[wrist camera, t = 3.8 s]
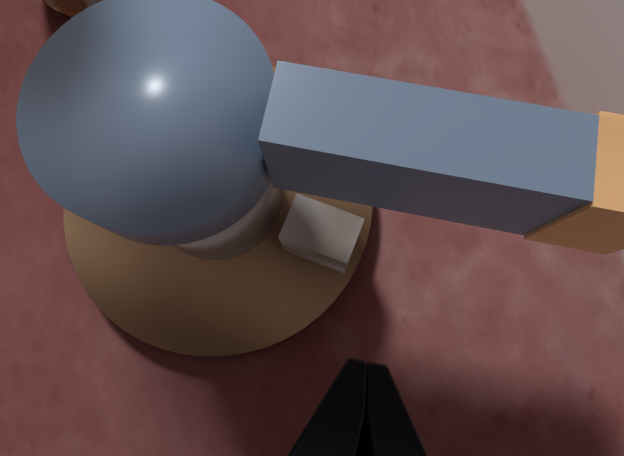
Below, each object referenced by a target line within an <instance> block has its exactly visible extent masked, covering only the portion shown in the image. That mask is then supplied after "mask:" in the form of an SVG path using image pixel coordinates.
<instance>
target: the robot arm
mask: <svg viewBox="0 0 624 456" xmlns="http://www.w3.org/2000/svg"><path fill="white" fill-rule="evenodd" d="M288 456H427V454H426V451H425V449H424V447H423V445H422V442H421V440H420V438H419V436H418V433H417V431H416V429H415V427H414V424H413V422H412V420H411V418H410V415H409V413H408V411H407V409H406V406H405V404H404V402H403V400H402V398H401V395H400V393H399V391H398V389H397V386H396V384H395V382H394V380H393V377H392V375H391V373H390V371H389V369H388V367H387V366H386V365H384V364H380V363H375V362H368V363H367V362H366V361H365V360H361V359H356V358H348V359H347V360H346V362H345V364H344V365H343V367H342V368H341V370H340V372H339V373H338V375H337V377H336V378H335V380H334V381H333V383H332V385H331V386H330V388H329V389H328V391H327V393H326V394H325V396H324V398H323V399H322V401H321V402H320V404H319V406H318V407H317V409H316V411H315V412H314V414H313V415H312V417H311V419H310V420H309V422H308V424H307V425H306V427H305V428H304V430H303V432H302V433H301V435H300V436H299V438H298V440H297V441H296V443H295V445H294V446H293V448H292V449H291V451H290V453H289V454H288Z"/></svg>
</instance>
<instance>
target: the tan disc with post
mask: <svg viewBox="0 0 624 456" xmlns="http://www.w3.org/2000/svg"><path fill="white" fill-rule="evenodd" d="M272 68H273V72H274V74H275V69H276V66H273V65H272ZM372 211H373V206H368V205H362V204H357V203H352V202H347V201H341V200H336V199H331V198H325V197H320V196H315V195H310V194H304V193H299V192H294V191H289V190H283V189H278V188H274V187H273V184H272V183H271V185H270V186H269V188H268V190H267V191H266V193H265V194H264V196H263V197H262V198H261V200H260V201H259V202H258V203H257V204H256V206H255V207H254V208H253V209H252V210H251V211H250V212H249V213H248V214H246V215H245V216H244V217H243V218H242V219H241V220H239V221H238V222H236V223H235V224H234V225H232V226H231V227H229V228H227V229H226V230H224V231H222V232H220V233H218V234H216V235H214V236H211V237H209V238H206V239H204V240H200V241H196V242H192V243H189V244H181V245H173V246H157V245H150V244H143V243H139V242H135V241H132V240H128V239H126V238H124V237H121V236H119V235H117V234H114V233H112V232H110V231H108V230H106V229H104V228H102V227H100V226H98V225H96V224H94V223H92V222H90V221H88V220H86V219H84V218H82V217H80V216H77V215H75V214H74V213H72V212H70V211H69V210H67V209H65V208H64V231H65V238H66V245H67V248H68V252H69V255H70V259H71V262H72V265H73V267H74V270H75V272H76V274H77V276H78V278H79V281H80V283H81V284H82V286H83V287H84V289H85V290H86V292H87V294H88V295H89V297H90V298H91V300H92V301H93V302H94V303H95V304H96V305H97V307H98V308H99V309H100V310H101V311H102V312H103V314H104V315H106V316H107V317H108V318H109V319H110V320H111V321H113V322H114V323H115V324H116V325H117V326H118V327H120V328H121V329H123V330H124V331H126V332H127V333H129V334H130V335H132V336H134V337H135V338H137V339H139V340H141V341H143V342H145V343H148V344H150V345H152V346H154V347H157V348H160V349H163V350H167V351H170V352H174V353H178V354H185V355H191V356H203V357H221V356H229V355H236V354H243V353H247V352H251V351H254V350H258V349H262V348H266V347H268V346H271V345H273V344H275V343H278V342H280V341H283V340H285V339H287V338H289V337H290V336H292V335H294V334H295V333H297V332H299V331H301V330H302V329H304V328H305V327H307V326H308V325H309V324H310V323H312V322H313V321H314V320H316V319H317V318H318V317H319V316H321V315H322V313H323V312H324V311H325V310H326V309H327V308H328V307H329V306H330V305H331V304H332V303H333V302H334V301H335V300H336V299H337V297H338V296H339V295H340V293H341V292H342V291H343V289H344V288H345V287H346V285H347V284H348V282H349V280H350V278H351V277H352V275H353V273H354V271H355V269H356V268H357V266H358V264H359V261H360V259H361V256H362V254H363V251H364V249H365V246H366V243H367V239H368V235H369V231H370V227H371V220H372Z"/></svg>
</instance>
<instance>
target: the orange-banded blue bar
mask: <svg viewBox="0 0 624 456" xmlns="http://www.w3.org/2000/svg"><path fill="white" fill-rule="evenodd" d="M16 127H17V135H18V142H19V145H20V149H21V153H22V156H23V158H24V160H25V163H26V165H27V167H28V169H29V171H30V173H31V174H32V176H33V177H34V179H35V180H36V182H37V183H38V184H39V185H40V187H41V188H42V189H43V190H44V191H45V192H46V193H47V194H48V195H49V196H50V197H51V198H52V199H53V200H55V201H56V202H57V203H58V204H59V205H61V206H62V207H64V208H65V209H67V210H69V211H70V212H72V213H74V214H75V215H77V216H80V217H82V218H84V219H86V220H88V221H90V222H92V223H94V224H96V225H98V226H100V227H102V228H104V229H106V230H108V231H110V232H112V233H114V234H117V235H119V236H121V237H124V238H126V239H128V240H132V241H135V242H139V243H143V244H150V245H157V246H173V245H181V244H189V243H192V242H196V241H200V240H204V239H206V238H209V237H211V236H214V235H216V234H218V233H220V232H222V231H224V230H226V229H227V228H229V227H231V226H232V225H234V224H235V223H236V222H238V221H239V220H241V219H242V218H243V217H244V216H245V215H246V214H248V213H249V212H250V211H251V210H252V209H253V208H254V207H255V206H256V204H257V203H258V202H259V201H260V200H261V198H262V197H263V196H264V194H265V193H266V191H267V190H268V188H269V186H270V185H271V183H272V184H273V187H274V188H278V189H283V190H289V191H294V192H299V193H304V194H310V195H315V196H320V197H325V198H331V199H336V200H341V201H347V202H352V203H357V204H362V205H368V206H373V207H378V208H384V209H389V210H394V211H399V212H405V213H410V214H415V215H420V216H426V217H431V218H436V219H442V220H447V221H452V222H457V223H463V224H468V225H473V226H479V227H484V228H489V229H494V230H500V231H505V232H510V233H515V234H521V235H525V236H524V239H527V240H532V241H537V242H542V243H548V244H553V245H558V246H563V247H569V248H574V249H579V250H585V251H590V252H595V253H600V254H609V253H612V252H616V251H619V250H623V249H624V115H621V114H615V113H609V112H603V111H599V112H597V113H596V114H595V115H594V114H588V113H582V112H577V111H571V110H565V109H559V108H553V107H547V106H541V105H536V104H530V103H524V102H518V101H512V100H506V99H500V98H495V97H489V96H483V95H477V94H471V93H465V92H459V91H454V90H448V89H442V88H436V87H430V86H424V85H418V84H413V83H407V82H401V81H395V80H389V79H383V78H377V77H372V76H366V75H360V74H354V73H348V72H342V71H336V70H331V69H325V68H319V67H313V66H307V65H301V64H295V63H290V62H284V61H277V65H276V69H275V74H274V72H273V68H272V65H271V62H270V59H269V57H268V55H267V53H266V50H265V48H264V47H263V45H262V43H261V42H260V40H259V39H258V37H257V36H256V34H255V33H254V32H253V31H252V30H251V28H250V27H249V26H248V25H247V24H246V23H245V22H244V21H243V20H241V19H240V18H239V17H238V16H237V15H236V14H234V13H233V12H231V11H230V10H228V9H227V8H226V7H224V6H222V5H220V4H218V3H216V2H214V1H212V0H103V1H101V2H99V3H96V4H94V5H92V6H90V7H88V8H86V9H85V10H83V11H82V12H80V13H78V14H77V15H75V16H74V17H72V18H71V19H70V20H68V21H67V22H66V23H65V24H63V25H62V26H61V27H60V28H59V29H58V30H57V31H56V32H55V33H54V34H53V35H52V36H51V37H50V38H49V39H48V40H47V41H46V43H45V44H44V45H43V46H42V48H41V49H40V50H39V52H38V53H37V55H36V56H35V58H34V60H33V61H32V63H31V65H30V67H29V69H28V71H27V73H26V75H25V78H24V80H23V84H22V87H21V90H20V93H19V99H18V105H17V117H16Z"/></svg>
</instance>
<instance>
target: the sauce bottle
mask: <svg viewBox="0 0 624 456" xmlns="http://www.w3.org/2000/svg"><path fill="white" fill-rule="evenodd" d="M43 1H44V2H45V3H46V4H47V5H48V6H49V7H51V8H53V9H54V10H55V11H58V12H61V13H63V14H65V15H68V16H69V17H71V18H72V17H74V16H75V15H77V14H78V13H80V12H82V11H83V10H85V9H86V8H88V7H90V6H92V5H94V4H96V3H99V2H101V1H103V0H43Z"/></svg>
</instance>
